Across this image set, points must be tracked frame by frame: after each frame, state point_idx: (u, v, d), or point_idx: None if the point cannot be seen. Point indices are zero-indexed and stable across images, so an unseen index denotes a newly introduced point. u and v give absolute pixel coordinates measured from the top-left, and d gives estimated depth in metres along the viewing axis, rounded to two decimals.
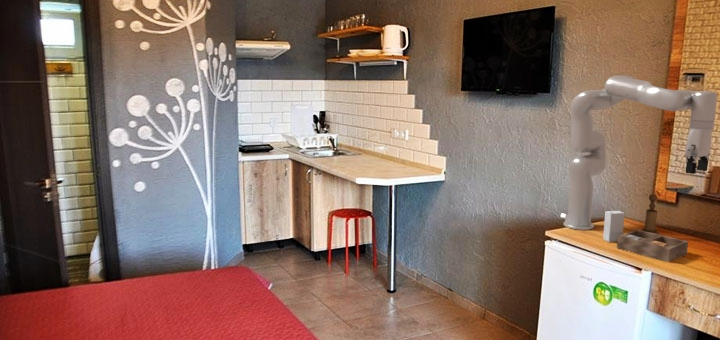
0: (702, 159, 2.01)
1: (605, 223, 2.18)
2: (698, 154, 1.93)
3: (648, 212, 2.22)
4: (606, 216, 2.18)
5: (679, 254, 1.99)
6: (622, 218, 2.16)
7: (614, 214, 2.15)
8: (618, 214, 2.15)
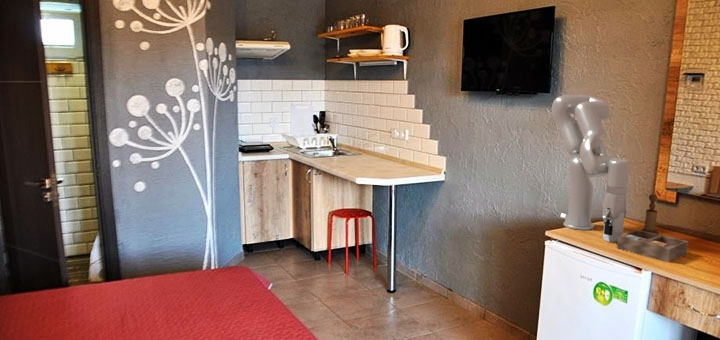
0: None
1: None
2: (613, 217, 2.13)
3: (648, 212, 2.22)
4: None
5: (679, 254, 1.99)
6: (622, 218, 2.16)
7: None
8: None
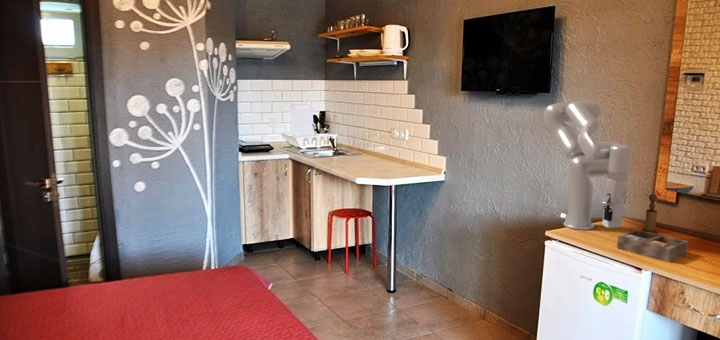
0: None
1: None
2: (613, 202, 2.13)
3: (648, 212, 2.22)
4: None
5: (679, 254, 1.99)
6: (622, 204, 2.15)
7: None
8: None
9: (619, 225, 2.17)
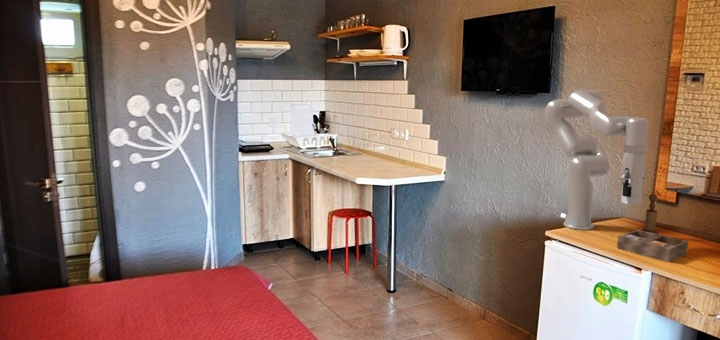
0: None
1: None
2: (631, 177, 2.05)
3: (648, 212, 2.22)
4: None
5: (679, 254, 1.99)
6: (641, 179, 2.08)
7: None
8: None
9: (639, 201, 2.10)
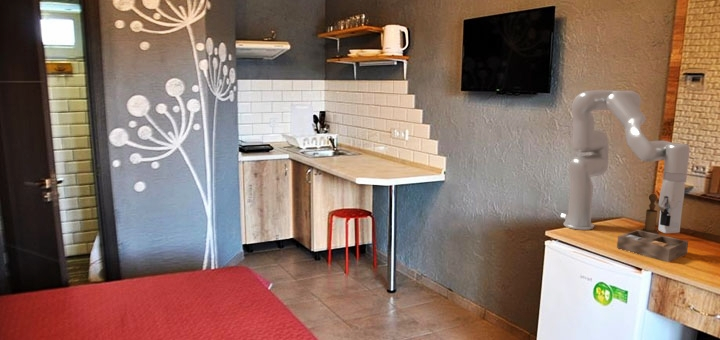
0: None
1: None
2: (671, 206, 1.96)
3: (648, 212, 2.22)
4: None
5: (679, 254, 1.99)
6: (680, 207, 1.98)
7: None
8: None
9: (677, 230, 2.00)
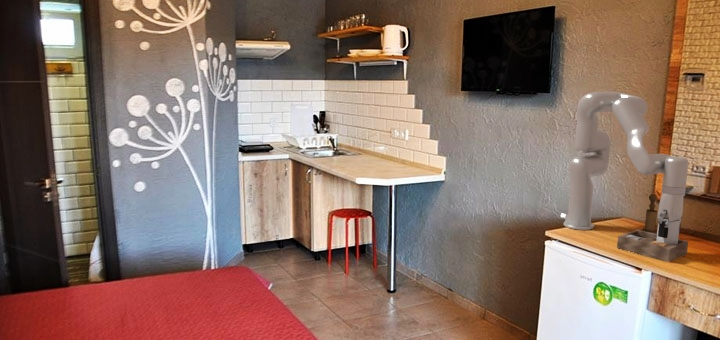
0: None
1: None
2: (670, 219, 1.97)
3: (648, 212, 2.22)
4: None
5: (679, 254, 1.99)
6: (677, 227, 1.99)
7: (669, 223, 1.99)
8: (673, 223, 1.99)
9: None
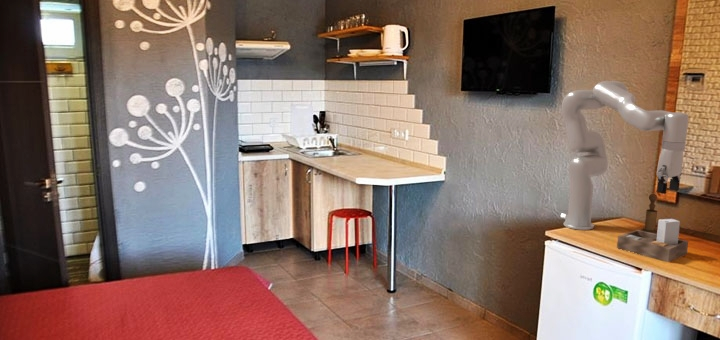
0: (674, 179, 2.04)
1: (659, 232, 2.02)
2: (669, 175, 1.96)
3: (648, 212, 2.22)
4: (660, 225, 2.01)
5: (679, 254, 1.99)
6: (677, 227, 1.99)
7: (669, 223, 1.99)
8: (673, 223, 1.99)
9: None
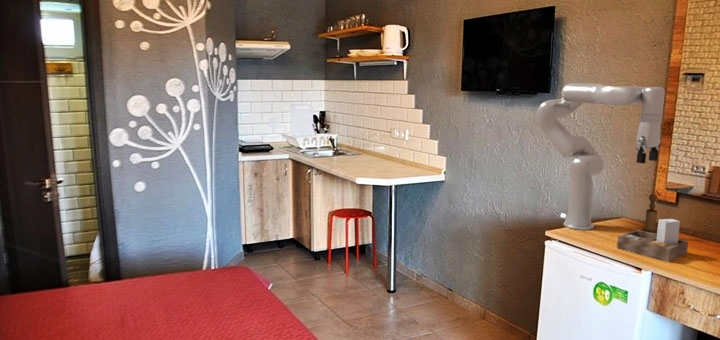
0: (653, 150, 2.17)
1: (659, 232, 2.02)
2: (647, 145, 2.09)
3: (648, 212, 2.22)
4: (660, 225, 2.01)
5: (679, 254, 1.99)
6: (677, 227, 1.99)
7: (669, 223, 1.99)
8: (673, 223, 1.99)
9: None
